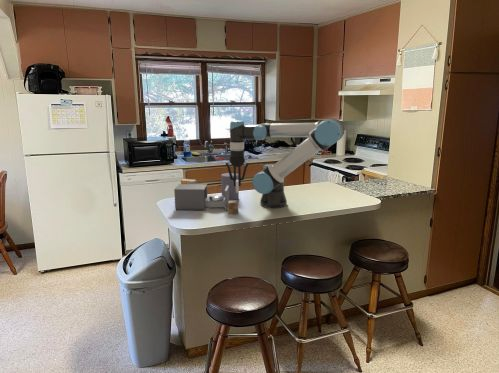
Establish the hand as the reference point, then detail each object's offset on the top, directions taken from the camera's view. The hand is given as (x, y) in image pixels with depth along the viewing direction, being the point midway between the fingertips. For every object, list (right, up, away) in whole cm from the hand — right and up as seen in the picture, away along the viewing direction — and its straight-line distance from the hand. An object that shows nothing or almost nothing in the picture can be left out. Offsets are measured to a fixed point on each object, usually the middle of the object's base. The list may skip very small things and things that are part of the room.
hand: (237, 192), depth 209 cm
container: (-5, -5, +21) cm, 22 cm away
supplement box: (-29, -6, +16) cm, 34 cm away
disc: (-12, -4, +1) cm, 13 cm away
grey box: (-26, -9, +3) cm, 27 cm away
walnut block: (-2, -11, -7) cm, 13 cm away
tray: (-13, -8, +2) cm, 16 cm away
